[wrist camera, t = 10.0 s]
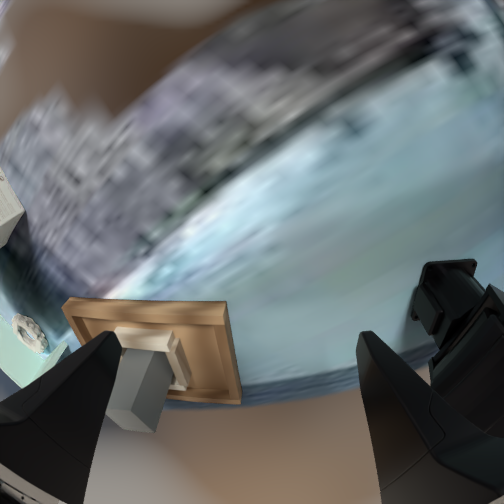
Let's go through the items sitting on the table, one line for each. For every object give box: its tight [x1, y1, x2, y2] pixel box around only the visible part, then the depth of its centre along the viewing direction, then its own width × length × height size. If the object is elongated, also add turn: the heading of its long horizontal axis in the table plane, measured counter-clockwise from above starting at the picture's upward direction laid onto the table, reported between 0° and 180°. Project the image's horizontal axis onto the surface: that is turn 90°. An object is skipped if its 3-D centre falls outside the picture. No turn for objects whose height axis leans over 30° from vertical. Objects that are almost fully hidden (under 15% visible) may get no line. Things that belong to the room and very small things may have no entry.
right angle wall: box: [0, 313, 68, 388], centre depth 28 cm, size 12×12×8 cm
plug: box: [105, 348, 174, 433], centre depth 24 cm, size 4×4×9 cm
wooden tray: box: [61, 297, 242, 404], centre depth 28 cm, size 18×14×3 cm
